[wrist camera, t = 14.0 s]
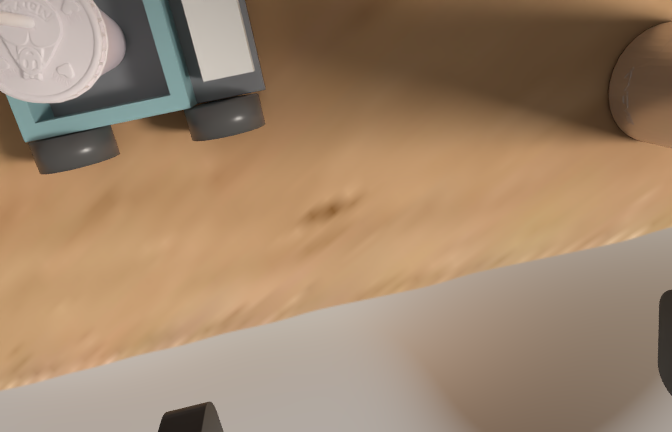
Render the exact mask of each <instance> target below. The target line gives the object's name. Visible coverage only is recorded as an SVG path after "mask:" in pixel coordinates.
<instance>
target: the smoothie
mask: <svg viewBox="0 0 672 432" xmlns="http://www.w3.org/2000/svg"><path fill="white" fill-rule="evenodd" d="M125 52H126V40H125V36H124V34H123V32H122V30H121V28H120V27H119V25H118V24H117V23H116V22H115V21H114V20H113V19H111V18H110V17H109V16H108V15H106V14H105V13H104V12H103V11H101V10H100V9H99V8H98V7H97V5H96V4H95V3H94V1H93V0H0V91H1V92H3V93H5V94H6V95H8V96H11V97H13V98H16V99H19V100H22V101H26V102H32V103H61V102H64V101H68V100H71V99H74V98H77V97H78V96H80V95H81V94H83V93H84V92H86V91H87V90H89V89H90V88H91V87H92V86H93V85H94V83H95V82H96V81H97V80H98V79H99V77H100V76H101V75H103V74H105V73H107V72H108V71H110V70H112V69H113V68H115V67H116V66H118V65H119V64H120V62H121V61H122V60H123V58H124V55H125Z"/></svg>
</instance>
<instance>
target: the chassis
mask: <svg viewBox="0 0 672 432" xmlns="http://www.w3.org/2000/svg"><path fill="white" fill-rule="evenodd" d="M93 1H94V3H95V4H96V5H97V7H98V8H99V9H100V10H101V11H103V12H104V13H105V14H106V15H108V16H109V17H110V18H111V19H113V20H114V21H115V22H116V23H117V24H118V25H119V27H120V28H121V30H122V32H123V34H124V36H125V40H126V52H125V55H124V58H123V60H122V61H121V62H120V64H119V65H118V66H116V67H115V68H113V69H112V70H110V71H108V72H107V73H105V74H103V75H101V76H100V77H99V79H98V80H97V81H96V82H95V83H94V85H93V86H92V87H91V88H90V89H89V90H87V91H86V92H84V93H83V94H81V95H80V96H78V97H77V98H74V99H71V100H68V101H64V102H61V103H32V102H26V101H22V100H19V99H16V98H13V97H11V96H8V95H6V96H7V99H8V101H9V104H10V106H11V109H12V111H13V114H14V116H15V119H16V121H17V124H18V126H19V129H20V131H21V134H22V136H23V139H24V141H25V142H29V143H28V145H29V147H30V150H31V152H32V155H33V157H34V160H35V162H36V165H37V167H38V170H39V172H40V174H52V173H58V172H63V171H68V170H73V169H77V168H81V167H85V166H88V165H92V164H95V163H99V162H102V161H105V160H108V159H110V158H113V157H115V156H117V155H119V154H120V152H119V149H118V146H117V143H116V140H115V137H114V134H113V131H112V128H111V125H112V124H117V123H121V122H126V121H131V120H136V119H141V118H145V117H150V116H155V115H160V114H165V113H169V112H174V111H179V110H184V113H185V116H186V120H187V123H188V127H189V130H190V134H191V137H192V140H193V141H205V140H212V139H218V138H223V137H228V136H232V135H237V134H240V133H244V132H247V131H251V130H254V129H257V128H259V127H261V126H263V125H265V120H264V116H263V112H262V108H261V103H260V99H259V95H258V94H247V95H242V94H246V93H251V92H256V91H261V90H265V84H264V80H263V76H262V72H261V67H260V63H259V59H258V54H257V50H256V46H255V41H254V37H253V33H252V29H251V24H250V20H249V16H248V11H247V7H246V3H245V0H93ZM237 95H241V96H237ZM232 96H235V97H232ZM227 97H230V98H227ZM222 98H225V99H222ZM218 99H221V100H218ZM213 100H216V101H213ZM208 101H212V102H208ZM203 102H207V103H203ZM198 103H203V104H199V105H196V104H198ZM195 105H196V106H195ZM30 141H31V142H30Z"/></svg>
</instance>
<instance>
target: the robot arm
mask: <svg viewBox="0 0 672 432" xmlns="http://www.w3.org/2000/svg"><path fill="white" fill-rule="evenodd" d="M609 104H610V110H611V113H612V116H613V118H614V120H615V122H616V123H617V125H618V126H619V128H620V129H621V130H622V131H623V132H624V133H625V134H627V135H628V136H630V137H632V138H634V139H636V140H639V141H643V142H647V143H652V144H656V145H660V146H664V147H668V148H672V22H667V23H662V24H658V25H656V26H654V27H652V28H649V29H647V30H646V31H644V32H643V33H642V34H640V35H639V36H637V37H636V38H635V39H634V40H633V41H632V42H631V43H630V44H629V45H628V46H627V47H626V49H625V50H624V52H623V53H622V54H621V56H620V57H619V59H618V61H617V63H616V66H615V68H614V70H613V73H612V77H611V80H610V85H609ZM658 341H659V342H658V368H659V373H660V376H661V378H662V381H663V383H664V385H665V387H666V388H667V390H668V391H669V393H670V394H671V395H672V290H669V291H666V292H665V293H664V294H663V295H662V296H661V299H660V304H659V339H658ZM158 432H223V429H222V426H221V423H220V420H219V417H218V414H217V411H216V409H215V407H214V405H213V403H212V402H206V403H202V404H198V405H194V406H190V407H186V408H182V409H178V410H173V411H169V412H166V413H165V414H164V415H163V417H162V420H161V423H160V427H159V430H158Z"/></svg>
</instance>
